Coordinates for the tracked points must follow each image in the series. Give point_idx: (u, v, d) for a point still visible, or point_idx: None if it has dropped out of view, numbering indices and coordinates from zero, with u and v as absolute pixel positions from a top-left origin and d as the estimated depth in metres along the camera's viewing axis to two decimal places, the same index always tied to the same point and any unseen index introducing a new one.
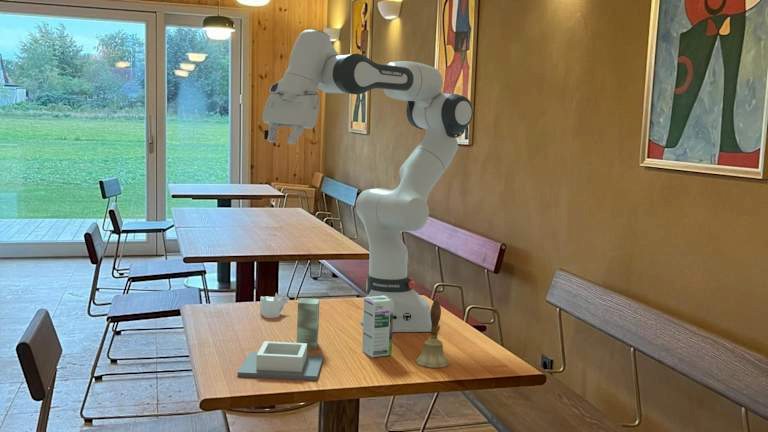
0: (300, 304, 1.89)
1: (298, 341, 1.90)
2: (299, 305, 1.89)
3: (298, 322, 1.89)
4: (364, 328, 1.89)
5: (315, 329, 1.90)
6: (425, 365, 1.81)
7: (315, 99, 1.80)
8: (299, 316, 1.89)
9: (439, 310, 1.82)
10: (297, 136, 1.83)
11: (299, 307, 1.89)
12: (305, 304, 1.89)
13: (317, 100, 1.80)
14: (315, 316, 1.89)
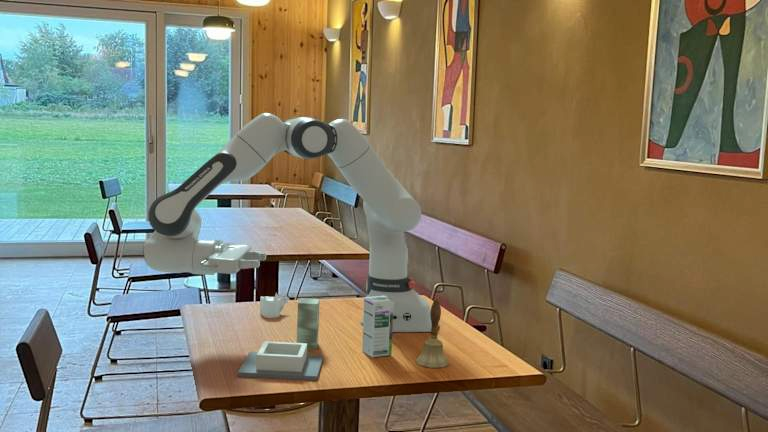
0: (300, 304, 1.89)
1: (298, 341, 1.90)
2: (299, 305, 1.89)
3: (298, 322, 1.89)
4: (364, 328, 1.89)
5: (315, 329, 1.89)
6: (425, 365, 1.81)
7: None
8: (299, 316, 1.89)
9: (439, 310, 1.82)
10: (249, 262, 1.84)
11: (299, 307, 1.89)
12: (305, 304, 1.89)
13: (208, 266, 1.80)
14: (315, 316, 1.89)
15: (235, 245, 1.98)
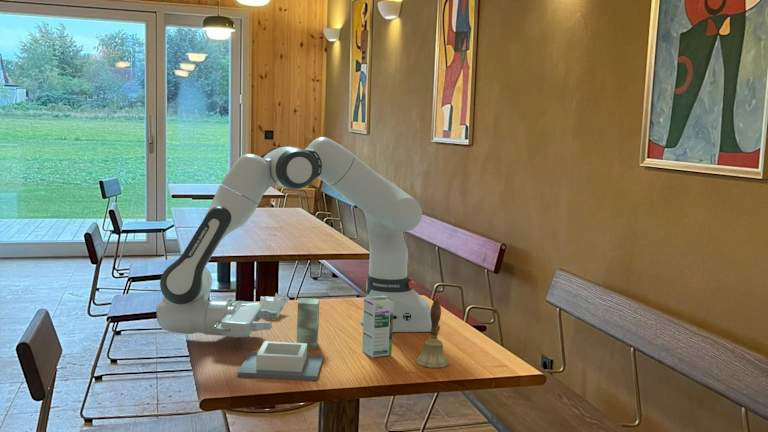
0: (300, 304, 1.89)
1: (298, 341, 1.90)
2: (299, 305, 1.89)
3: (298, 322, 1.89)
4: (364, 328, 1.89)
5: (315, 329, 1.89)
6: (425, 365, 1.81)
7: None
8: (299, 316, 1.89)
9: (439, 310, 1.82)
10: (262, 324, 1.86)
11: (299, 307, 1.89)
12: (305, 304, 1.89)
13: (221, 330, 1.82)
14: (315, 316, 1.89)
15: (247, 303, 2.00)
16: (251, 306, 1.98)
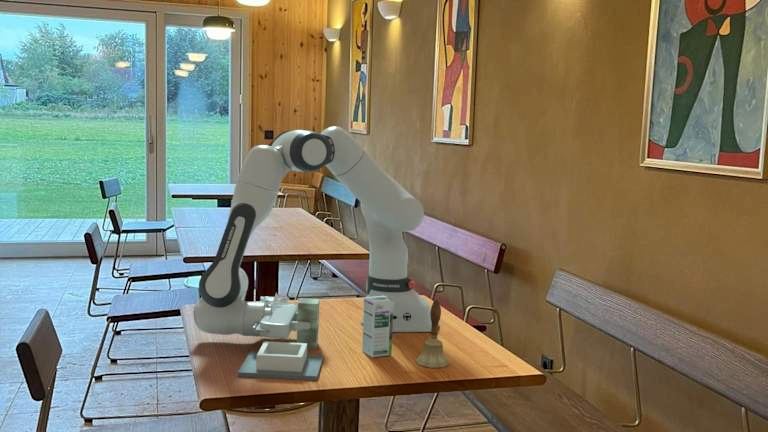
0: (300, 304, 1.89)
1: (298, 341, 1.90)
2: (299, 305, 1.89)
3: None
4: (364, 328, 1.89)
5: (315, 329, 1.90)
6: (425, 365, 1.81)
7: None
8: (299, 316, 1.89)
9: (439, 310, 1.82)
10: (301, 324, 1.88)
11: (299, 307, 1.89)
12: (305, 304, 1.89)
13: (260, 331, 1.82)
14: (315, 316, 1.89)
15: (282, 304, 2.00)
16: (287, 307, 1.98)
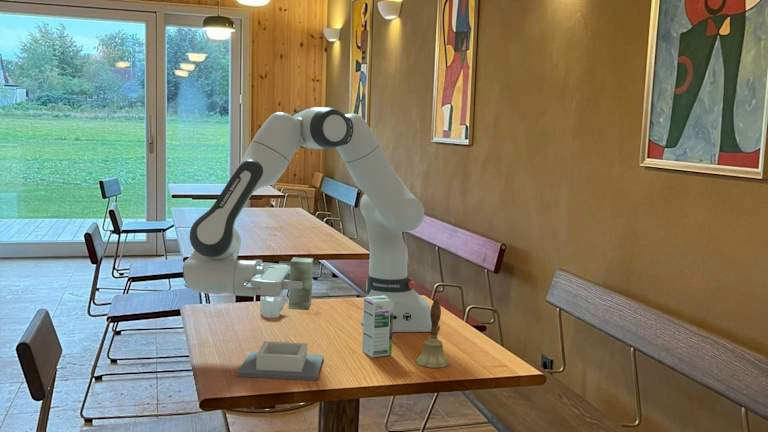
0: (293, 262, 1.82)
1: (290, 301, 1.83)
2: (292, 263, 1.82)
3: None
4: (364, 328, 1.89)
5: (308, 289, 1.83)
6: (425, 365, 1.81)
7: None
8: (292, 275, 1.82)
9: (439, 310, 1.82)
10: (293, 283, 1.81)
11: (292, 265, 1.82)
12: (298, 262, 1.82)
13: (250, 288, 1.75)
14: (308, 275, 1.82)
15: (275, 265, 1.93)
16: (280, 267, 1.91)
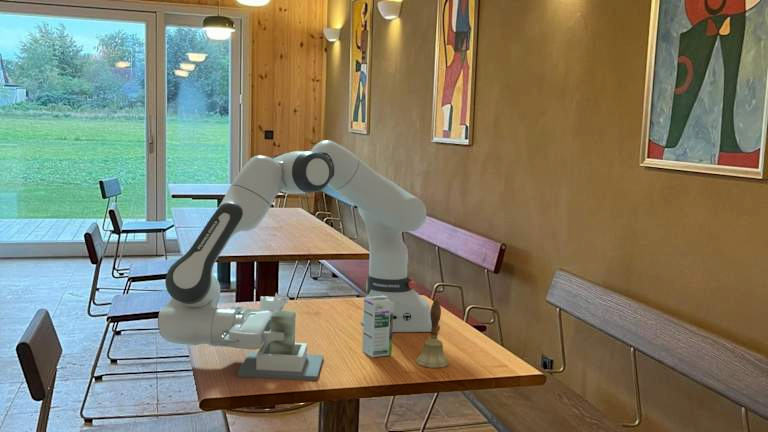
0: (274, 317, 1.72)
1: None
2: (272, 318, 1.72)
3: None
4: (364, 328, 1.89)
5: (290, 345, 1.73)
6: (425, 365, 1.81)
7: None
8: (273, 330, 1.72)
9: (439, 310, 1.82)
10: (274, 334, 1.69)
11: (272, 321, 1.72)
12: (279, 317, 1.72)
13: (228, 341, 1.65)
14: (290, 330, 1.72)
15: (256, 311, 1.83)
16: (261, 314, 1.80)
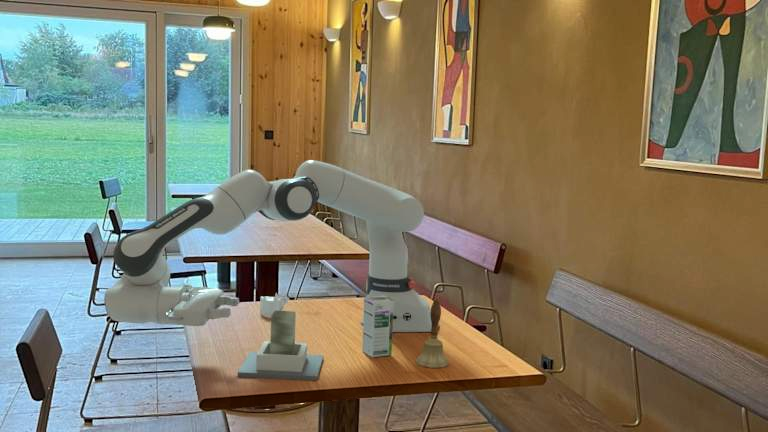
0: (274, 317, 1.72)
1: None
2: (272, 318, 1.72)
3: (271, 337, 1.72)
4: (364, 328, 1.89)
5: (290, 345, 1.73)
6: (425, 365, 1.81)
7: None
8: (273, 330, 1.72)
9: (439, 310, 1.82)
10: (219, 311, 1.68)
11: (272, 321, 1.72)
12: (279, 317, 1.72)
13: (172, 318, 1.64)
14: (290, 330, 1.72)
15: (205, 289, 1.82)
16: (210, 292, 1.80)
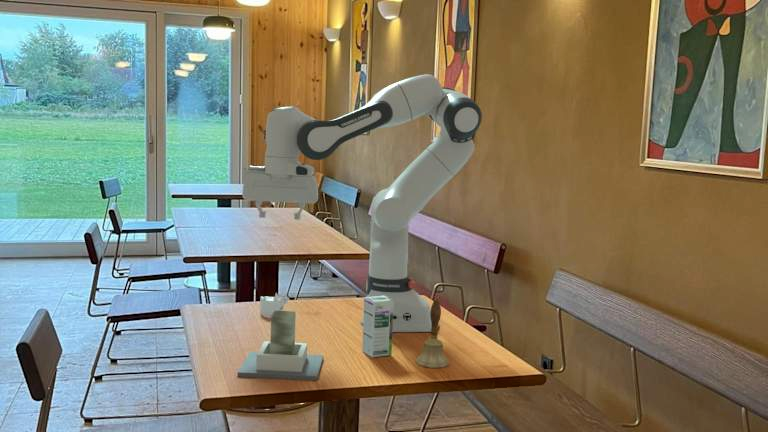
0: (274, 317, 1.72)
1: None
2: (272, 318, 1.72)
3: (271, 337, 1.72)
4: (364, 328, 1.89)
5: (290, 345, 1.73)
6: (425, 365, 1.81)
7: None
8: (273, 330, 1.72)
9: (439, 310, 1.82)
10: None
11: (272, 321, 1.72)
12: (279, 317, 1.72)
13: None
14: (290, 330, 1.72)
15: (310, 188, 1.98)
16: (302, 194, 1.99)
